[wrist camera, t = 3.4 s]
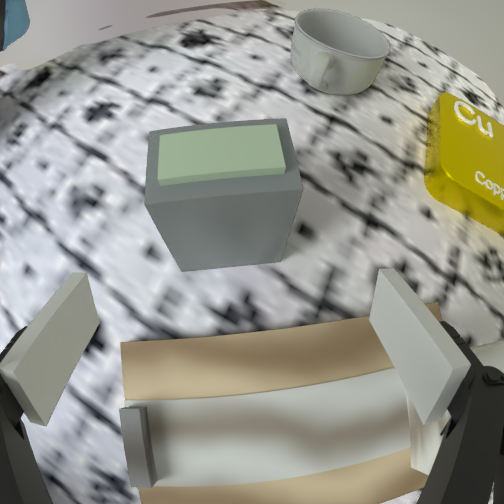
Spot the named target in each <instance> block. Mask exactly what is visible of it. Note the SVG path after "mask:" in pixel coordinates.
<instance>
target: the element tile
mask: <svg viewBox="0 0 504 504" xmlns="http://www.w3.org/2000/svg"><path fill="white" fill-rule="evenodd" d="M424 182H425V186H426V189H427V190H428V192H429V193H430V194H431V195H432V196H433V197H434V198H435V199H436V200H438V201H439V202H441V203H443V204H445V205H447V206H449V207H451V208H453V209H455V210H457V211H459V212H461V213H463V214H465V215H466V216H468V217H470V218H472V219H474V220H476V221H478V222H479V223H481V224H483V225H485V226H487V227H488V228H490V229H492V230H494V231H496V232H497V233H499V234H501V235H502V236H504V126H503V125H502V124H500V123H499V122H497V121H496V120H494V119H493V118H491V117H490V116H488V115H486V114H485V113H483V112H482V111H480V110H478V109H477V108H475V107H473V106H471V105H470V104H468V103H466V102H465V101H463V100H461V99H459V98H457V97H456V96H454V95H451V94H449V93H446V92H445V93H441V94H440V95H439V97H438V98H437V100H436V102H435V104H434V105H433V107H432V109H431V110H430V112H429V114H428V121H427V145H426V161H425V174H424Z"/></svg>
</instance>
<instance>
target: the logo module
mask: <svg viewBox="0 0 504 504" xmlns="http://www.w3.org/2000/svg"><path fill="white" fill-rule="evenodd" d="M302 192H303V186H302V181H301V177H300V173H299V168H298V164H297V160H296V156H295V152H294V148H293V144H292V140H291V136H290V132H289V128H288V124H287V120H286V119H264V120H247V121H234V122H222V123H211V124H202V125H193V126H185V127H177V128H169V129H162V130H156V131H150V132H149V143H148V155H147V169H146V185H145V207H146V208H147V210H148V212H149V214H150V216H151V218H152V220H153V222H154V223H155V225H156V227H157V229H158V231H159V233H160V234H161V236H162V238H163V240H164V242H165V243H166V245H167V247H168V249H169V251H170V252H171V254H172V256H173V258H174V259H175V261H176V263H177V265H178V266H179V268H180V270H181V272H185V271H196V270H206V269H216V268H226V267H236V266H246V265H256V264H265V263H275V262H281V259H282V256H283V253H284V249H285V246H286V243H287V240H288V237H289V234H290V230H291V227H292V224H293V221H294V218H295V214H296V211H297V208H298V205H299V201H300V198H301V195H302Z"/></svg>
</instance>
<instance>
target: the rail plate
mask: <svg viewBox="0 0 504 504" xmlns="http://www.w3.org/2000/svg"><path fill="white" fill-rule="evenodd" d="M425 306H426V307H427V308H428V309H429V310H430V312H431V313H432V314H433V315H434V317H435V318H436V319H437V320H438V322H440V321H442V319H441V314H440V309H439V305H438V302H434V303H429V304H425ZM369 317H370V315H369V316H363V317H357V318H351V319H345V320H339V321H333V322H326V323H320V324H313V325H306V326H299V327H292V328H284V329H276V330H268V331H259V332H251V333H241V334H232V335H221V336H210V337H198V338H185V339H171V340H155V341H135V342H121V359H122V374H123V386H124V396H125V400H124V403H125V408H121V409H119V412H120V420H121V428H122V435H123V442H124V449H125V455H126V461H127V467H128V472H129V477H130V483H131V487H138V489H139V494H140V499H141V503H142V504H380V503H383V502H386V501H388V500H391V499H394V498H397V497H400V496H402V495H405V494H408V493H410V492H413V491H415V490H418V489H420V488H423V487H424V486H425V484H426V481H427V479H428V476H429V474H430V471H431V469H432V466H433V464H434V461H435V458H436V456H437V453H438V450H439V447H440V444H441V441H442V438H443V435H444V434H443V435H442V436H441V435H440V433H441V432H442V430H443V429H444V427H445V425H446V424H447V422H448V421H449V419H450V418H451V415H450V413H449V412H448V410H446V412H445V414H444V415H443V417H442V419H441V420H440V421H436V422H433V423H429V424H425V425H423V423H422V421H421V419H420V417H419V415H418V413H417V411H416V409H415V407H414V405H413V403H412V401H411V399H410V397H409V395H408V393H407V391H406V389H405V387H404V385H403V383H402V381H401V379H400V377H399V375H398V373H397V371H396V369H395V367H394V365H393V363H392V362H391V360H390V358H389V356H388V354H387V352H386V350H385V348H384V346H383V345H382V343H381V341H380V339H379V337H378V335H377V334H376V332H375V330H374V328H373V326H372V324H371V323H370V321H369ZM470 349H471V350H472V351H473V353H474V354H475V355H476V357H477V358H478V359H479V360H480V362H481V363H482V364H483V366H493V367H495V368H497V369H499V370H500V371H501V372H503V373H504V340H502V341H498V342H494V343H490V344H485V345H481V346H477V347H472V348H470ZM493 484H494V482H493Z"/></svg>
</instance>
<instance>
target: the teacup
mask: <svg viewBox="0 0 504 504" xmlns="http://www.w3.org/2000/svg"><path fill="white" fill-rule="evenodd" d="M389 52H390V44H389V42H388V40H387V39H386V37H385V36H384V35H383V34H382V33H381V32H380V31H379V30H378V29H376V28H375V27H373V26H372V25H370V24H369V23H367V22H365V21H363V20H361V19H360V18H358V17H356V16H352V15H350V14H347V13H344V12H340V11H336V10H330V9H308V10H304V11H302V12H300V13H299V14H298V15H297V16H296V18H295V28H294V33H293V38H292V44H291V61H292V65H293V67H294V69H295V70H296V72H297V73H298V74H299V76H300V77H302V78H303V79H304V80H305V81H306V82H307V83H308V84H309V85H310V86H311V87H313V88H316V89H317V90H320V91H322V92H325V93H329V94H334V95H349V94H356V93H359V92H362V91H363V90H365V89H366V88H368V87H369V86H370V85H371V84H372V82H373V81H374V79H375V77H376V76H377V74H378V72H379V70H380V68H381V66H382V64H383V62H384V60H385V58H386V56H387V55H388V54H389Z"/></svg>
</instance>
